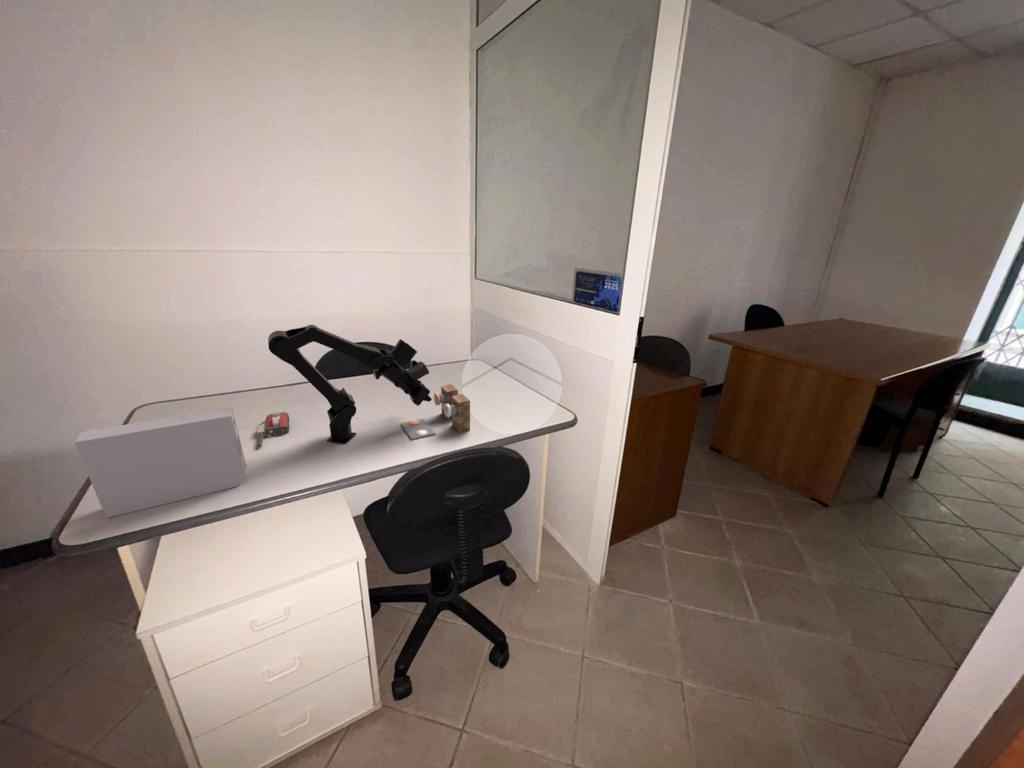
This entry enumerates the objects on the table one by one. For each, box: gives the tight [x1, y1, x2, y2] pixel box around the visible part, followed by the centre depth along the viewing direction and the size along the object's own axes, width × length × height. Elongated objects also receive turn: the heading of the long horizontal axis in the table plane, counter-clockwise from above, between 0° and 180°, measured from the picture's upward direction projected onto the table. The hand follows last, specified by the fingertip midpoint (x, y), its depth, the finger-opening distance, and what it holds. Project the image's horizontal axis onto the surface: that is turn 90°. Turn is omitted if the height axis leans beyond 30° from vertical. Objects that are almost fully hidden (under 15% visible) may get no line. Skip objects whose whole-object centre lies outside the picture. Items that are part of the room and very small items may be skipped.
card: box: [400, 418, 436, 441], centre depth 134 cm, size 8×12×1 cm, turn 31°
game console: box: [74, 406, 247, 519], centre depth 95 cm, size 6×27×20 cm, turn 122°
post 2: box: [451, 393, 471, 433], centre depth 135 cm, size 4×6×11 cm, turn 31°
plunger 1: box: [433, 392, 446, 406], centre depth 141 cm, size 7×4×4 cm, turn 121°
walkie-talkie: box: [256, 411, 290, 448], centre depth 128 cm, size 9×4×20 cm
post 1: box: [440, 383, 459, 421], centre depth 143 cm, size 4×6×11 cm, turn 31°
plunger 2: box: [444, 404, 458, 417], centre depth 133 cm, size 7×4×4 cm, turn 121°
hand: (430, 400), depth 138 cm, fingers closed
